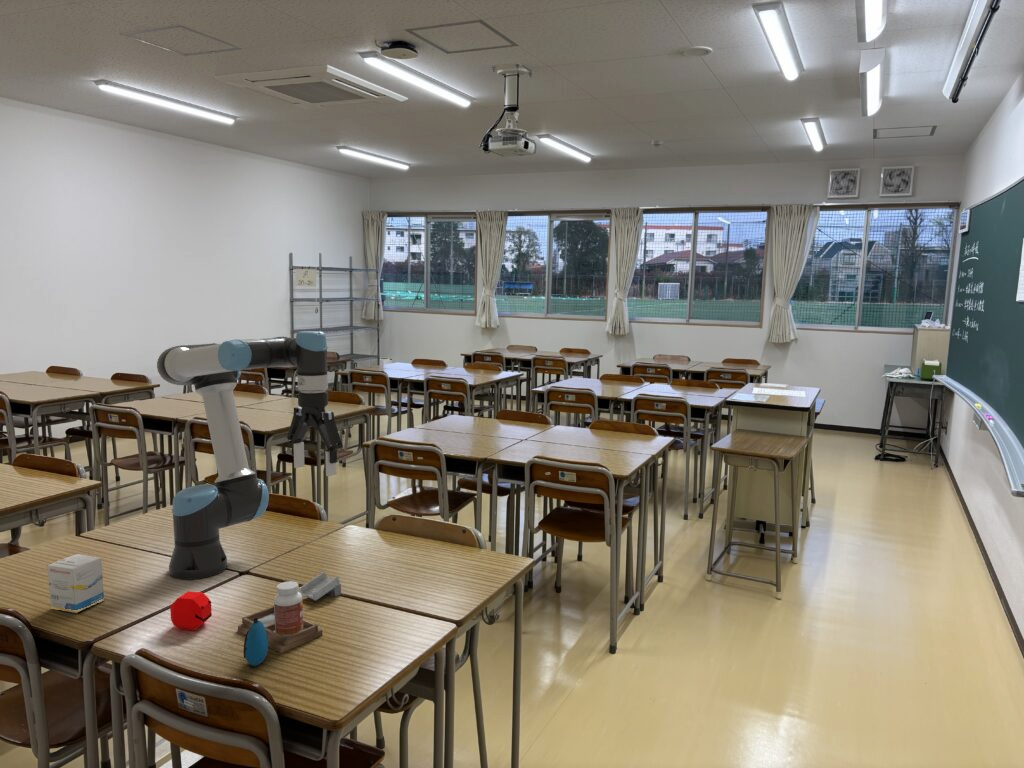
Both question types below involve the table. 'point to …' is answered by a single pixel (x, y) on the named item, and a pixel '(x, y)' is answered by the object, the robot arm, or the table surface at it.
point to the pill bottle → (288, 609)
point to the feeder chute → (321, 587)
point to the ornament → (256, 643)
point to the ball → (190, 610)
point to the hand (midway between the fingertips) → (315, 471)
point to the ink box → (75, 582)
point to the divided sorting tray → (275, 639)
